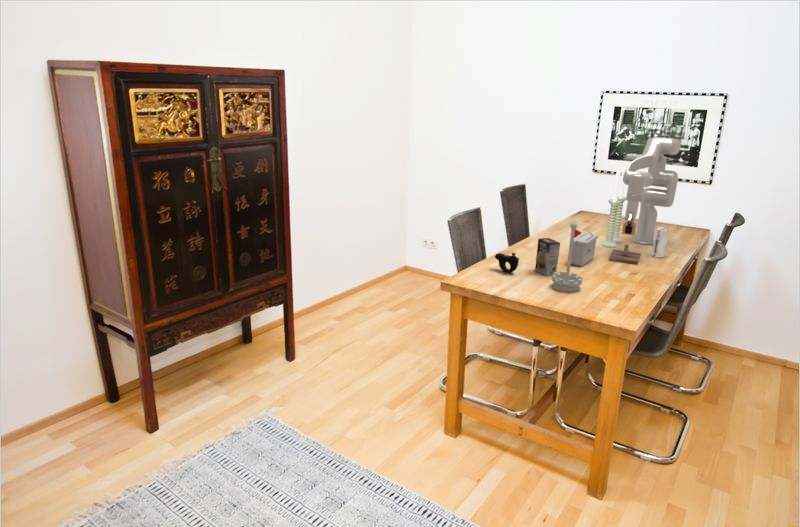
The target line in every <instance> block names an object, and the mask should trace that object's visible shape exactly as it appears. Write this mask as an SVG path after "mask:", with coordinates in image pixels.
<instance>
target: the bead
mask: <svg viewBox="0 0 800 527" xmlns="http://www.w3.org/2000/svg"><path fill="white" fill-rule="evenodd" d="M626 224H627V221H626V222H623V225H622V230H621V235H628V236H636V232H637V226H638V223H635V222H634V223H633V224H632V226H633V227H632V233H631V234H627V233H625V228H626Z"/></svg>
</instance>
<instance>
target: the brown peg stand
mask: <svg viewBox="0 0 800 527" xmlns="http://www.w3.org/2000/svg"><path fill="white" fill-rule="evenodd" d="M623 248H624V249H623V250H622V249H621V250H620V249H612V251H611V253H610V255H609V256H608V260H609V261H611V262H614V263H623V264H628V265H635V266H637V265H638V264H639V261H640V259H641V256H642V253H640V252H635V251H629V244H625V245H624V247H623ZM609 261H608V262H609Z"/></svg>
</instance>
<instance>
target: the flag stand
mask: <svg viewBox="0 0 800 527" xmlns="http://www.w3.org/2000/svg"><path fill="white" fill-rule="evenodd" d="M569 227H570V239H569V247H568V254H567V260H566V261H567V262H566V270H565V271H559V273H558V272H555V273H553V275H551V281H552V283H553V286H554V287H555V288H556V290H557V289H558V291H560V290H562V291H561V292H565V291H569V292H570V293H572V291H575V292H577V290H578V291H579V289H580V285H582V284H583V277H584V276H582V275H577V273H575V272H570V271H571V266H572V265H571V258H572V250H573V242H574V238H576V237H578V236H579V235H581V234H582V233H583V232H581V231H580V230H578V229H577V228H578V223H576V222H571V223H570V225H569ZM553 286H552V287H553ZM554 287H553V288H554ZM555 288H554V289H555Z"/></svg>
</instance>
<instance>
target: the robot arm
mask: <svg viewBox="0 0 800 527" xmlns="http://www.w3.org/2000/svg"><path fill="white" fill-rule="evenodd" d="M681 143H682V142H681V140H680V139H677V138H672V137H660V136H653V137H650V138H648V139H647V140H646V144H645V146H644V149H643V151H642V153H641V156H638V157H637V158H635V159H634V160H632V161H631V162H629V164H627V167H626V169H625V171H624V173H623V176H622V177H623V178H622V182H623V183H624V184H625V185H626V186H627V192H626V196H625V197H626V198H625V201H627V204H626V207H625V216H624V221H626V222H627V224H626V228H625V233H627V234H631V233H632V227H633V226H632V224H633V223H635V221H636V219H637V215H638V219H637V220H638V221H637V225H636V232H635V236H634V237H633V238H632V242H634V243H636V244H641V245H649V246H650V245H653V237H654V232H655V228H656V225H657V219H658V210H657V208H656V207H660V208H661V207H663V208H670V207H672V206H673V204H674V201H675V196H676V192H677V191H676V190H677V186H678V180H679V175H678V173H677V171H675V170H667V169H666V165H667V158H666V157H665V155H671V156H676V155H677V154H679V152H680V150H681V145H682V144H681ZM646 168H648V170H647V171H646V172H645V171H638V170H642V169H643V170H644V169H646ZM650 186H652V187H650ZM653 187H655V188H653ZM656 187H660V188H665V189H660V188H656ZM639 204H640V207H639ZM638 210H639V211H638ZM638 212H639V213H638ZM627 234H626V235H627Z"/></svg>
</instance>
